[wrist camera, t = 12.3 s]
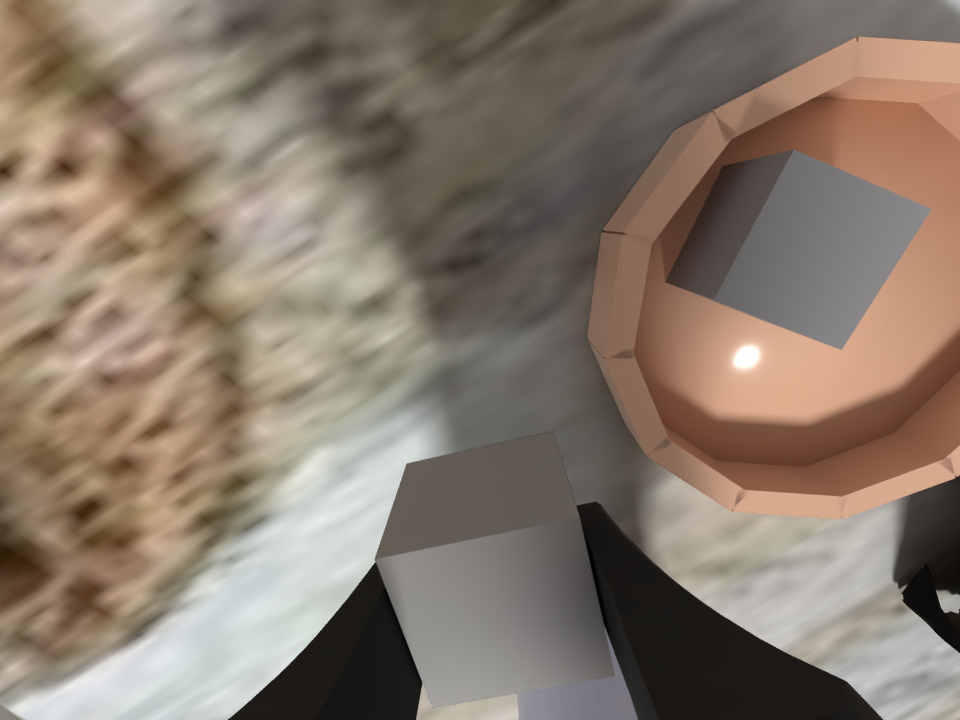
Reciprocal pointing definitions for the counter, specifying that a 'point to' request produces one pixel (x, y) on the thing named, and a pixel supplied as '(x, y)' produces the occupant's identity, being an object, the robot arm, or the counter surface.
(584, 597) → the grey cube
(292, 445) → the counter surface
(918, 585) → the juice carton
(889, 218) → the grey cube
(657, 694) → the robot arm
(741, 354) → the bowl
